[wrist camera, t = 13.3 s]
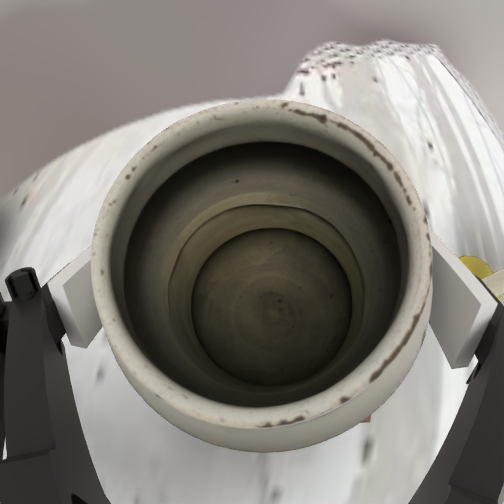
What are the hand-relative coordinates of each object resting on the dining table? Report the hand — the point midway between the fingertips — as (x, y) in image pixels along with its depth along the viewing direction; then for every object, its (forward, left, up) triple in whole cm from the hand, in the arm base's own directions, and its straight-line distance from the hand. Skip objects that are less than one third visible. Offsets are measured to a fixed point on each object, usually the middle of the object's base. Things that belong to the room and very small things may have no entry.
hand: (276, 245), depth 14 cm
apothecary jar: (0, -2, -11) cm, 11 cm away
